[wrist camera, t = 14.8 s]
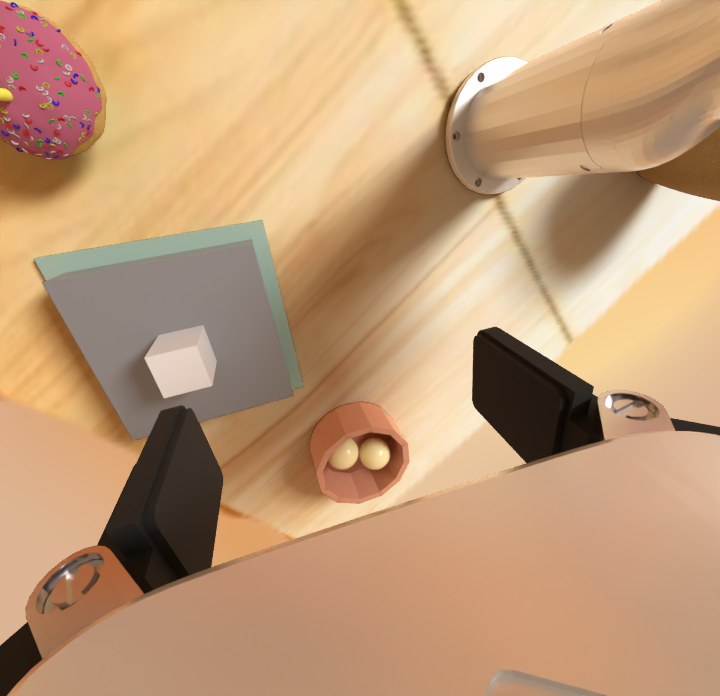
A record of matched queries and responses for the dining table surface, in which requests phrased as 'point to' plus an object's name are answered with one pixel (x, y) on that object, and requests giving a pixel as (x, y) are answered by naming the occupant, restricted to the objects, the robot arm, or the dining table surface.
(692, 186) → the plant pot
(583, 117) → the robot arm
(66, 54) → the cupcake
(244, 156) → the dining table surface
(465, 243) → the dining table surface
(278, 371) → the cover
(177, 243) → the mat
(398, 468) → the bowl
